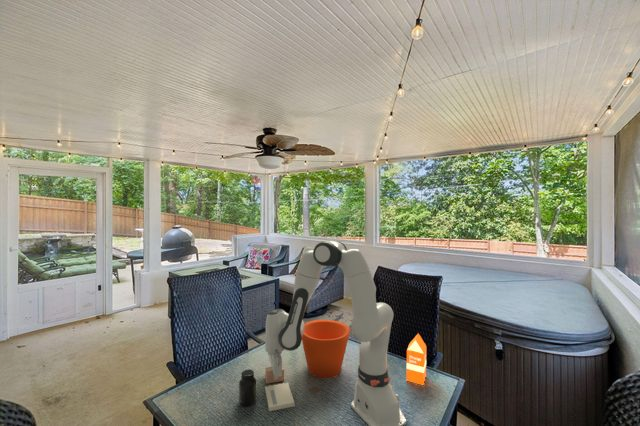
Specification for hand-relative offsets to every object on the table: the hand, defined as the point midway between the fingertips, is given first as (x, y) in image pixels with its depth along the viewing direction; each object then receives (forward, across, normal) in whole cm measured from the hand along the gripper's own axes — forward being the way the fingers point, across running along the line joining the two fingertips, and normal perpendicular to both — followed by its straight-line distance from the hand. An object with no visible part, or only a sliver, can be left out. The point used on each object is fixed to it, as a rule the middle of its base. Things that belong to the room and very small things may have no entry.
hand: (274, 375), depth 127 cm
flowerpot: (+2, +2, -25) cm, 25 cm away
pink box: (+2, 0, 0) cm, 2 cm away
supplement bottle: (+2, -12, +13) cm, 18 cm away
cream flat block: (+2, -13, 0) cm, 13 cm away
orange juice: (+3, -18, -64) cm, 66 cm away
